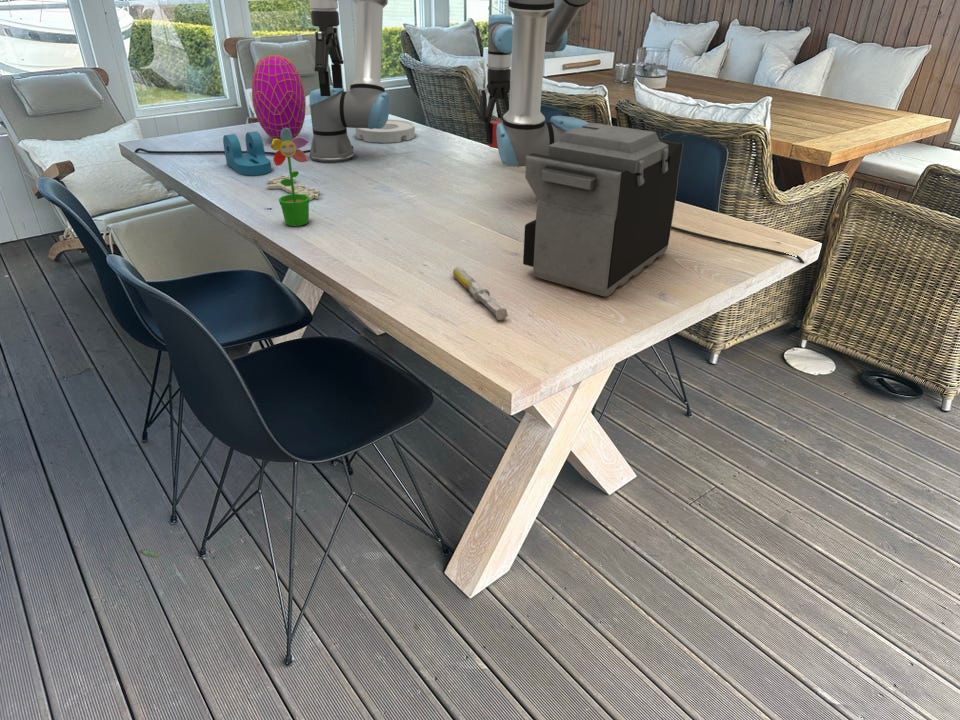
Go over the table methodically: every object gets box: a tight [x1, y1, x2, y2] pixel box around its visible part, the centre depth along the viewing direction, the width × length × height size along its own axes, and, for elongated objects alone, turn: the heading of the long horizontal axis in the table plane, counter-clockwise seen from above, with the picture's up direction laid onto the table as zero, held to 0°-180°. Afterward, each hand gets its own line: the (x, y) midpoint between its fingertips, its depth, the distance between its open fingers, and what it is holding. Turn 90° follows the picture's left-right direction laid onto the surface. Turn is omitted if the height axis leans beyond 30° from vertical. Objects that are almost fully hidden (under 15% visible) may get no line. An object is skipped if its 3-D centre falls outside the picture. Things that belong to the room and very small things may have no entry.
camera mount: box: [222, 131, 272, 176], centre depth 226 cm, size 18×10×10 cm, turn 35°
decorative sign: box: [267, 174, 321, 201], centre depth 209 cm, size 26×1×10 cm
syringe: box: [452, 266, 509, 321], centre depth 145 cm, size 25×4×3 cm, turn 21°
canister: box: [488, 120, 503, 149], centre depth 231 cm, size 6×6×8 cm
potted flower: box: [270, 128, 310, 227], centre depth 177 cm, size 9×8×25 cm
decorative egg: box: [251, 54, 307, 141], centre depth 257 cm, size 19×19×30 cm
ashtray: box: [355, 118, 416, 144], centre depth 271 cm, size 23×23×4 cm
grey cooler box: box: [522, 122, 685, 297], centre depth 153 cm, size 37×22×30 cm, turn 144°
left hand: (332, 92), depth 199 cm, fingers open, 13 cm apart
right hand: (497, 141), depth 232 cm, fingers closed on canister, 6 cm apart
